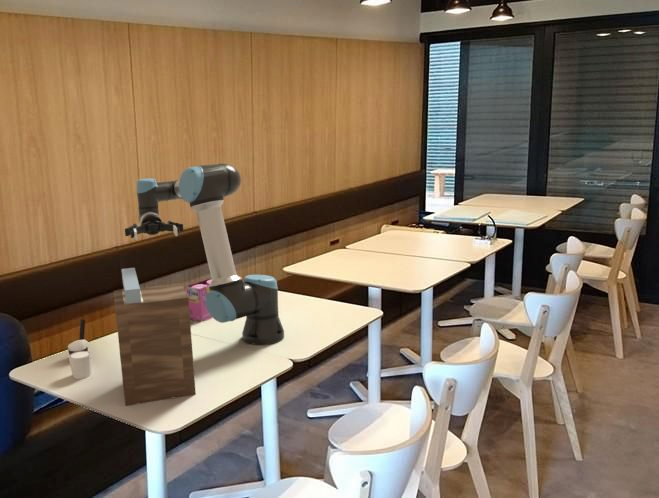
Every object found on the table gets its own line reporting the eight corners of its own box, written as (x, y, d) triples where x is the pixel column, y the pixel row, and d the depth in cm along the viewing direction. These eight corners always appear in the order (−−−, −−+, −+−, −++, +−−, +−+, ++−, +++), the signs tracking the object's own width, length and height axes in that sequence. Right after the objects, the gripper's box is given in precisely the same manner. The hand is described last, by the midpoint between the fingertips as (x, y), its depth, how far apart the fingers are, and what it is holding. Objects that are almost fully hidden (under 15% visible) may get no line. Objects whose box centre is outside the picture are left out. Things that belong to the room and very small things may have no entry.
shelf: (123, 383, 202) (113, 290, 196) (188, 373, 209) (181, 282, 202) (125, 405, 188) (115, 305, 181) (195, 394, 194) (188, 297, 187)
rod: (122, 281, 205) (121, 269, 204) (135, 279, 207) (134, 267, 206) (126, 304, 182) (125, 290, 181) (141, 302, 184) (139, 288, 183)
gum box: (229, 302, 281) (227, 272, 277) (242, 305, 276) (241, 274, 273) (187, 318, 261) (185, 285, 258) (201, 322, 257) (199, 288, 254)
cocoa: (74, 364, 219) (70, 331, 216) (62, 360, 222) (58, 328, 219) (97, 354, 227) (93, 322, 223) (85, 350, 230) (81, 318, 226)
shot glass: (74, 371, 213) (72, 351, 211) (96, 370, 213) (93, 350, 212) (68, 380, 206) (65, 359, 204) (90, 378, 207) (88, 358, 205)
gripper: (185, 230, 251) (193, 241, 232) (117, 236, 243) (119, 248, 224) (184, 211, 249) (192, 220, 230) (115, 216, 241) (117, 226, 222)
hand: (156, 234), depth 227 cm, fingers open, 13 cm apart
